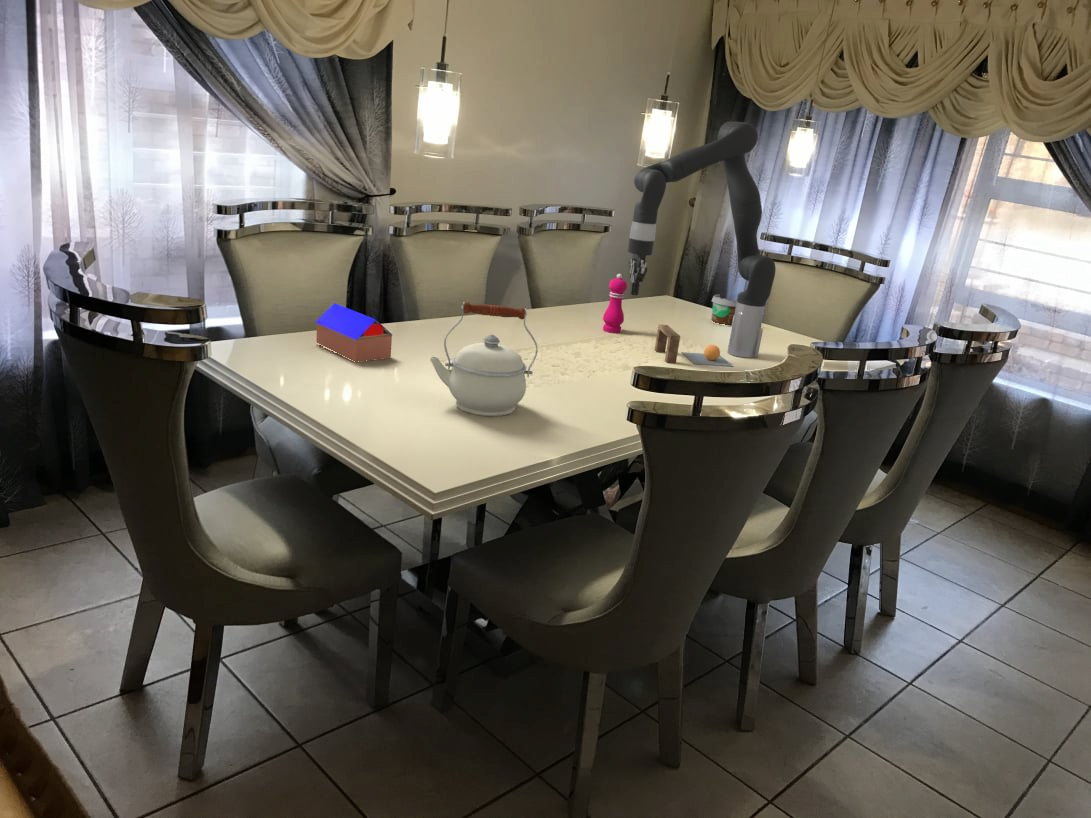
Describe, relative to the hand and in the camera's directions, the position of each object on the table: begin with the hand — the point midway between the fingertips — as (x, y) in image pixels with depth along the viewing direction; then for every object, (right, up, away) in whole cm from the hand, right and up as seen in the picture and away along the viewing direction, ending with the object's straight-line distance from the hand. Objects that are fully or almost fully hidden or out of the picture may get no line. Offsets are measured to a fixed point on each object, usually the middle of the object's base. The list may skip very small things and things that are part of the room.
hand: (633, 294), depth 261 cm
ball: (+26, -17, +10) cm, 33 cm away
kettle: (-43, -35, -57) cm, 79 cm away
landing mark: (+24, -19, +11) cm, 33 cm away
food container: (+39, -2, +67) cm, 78 cm away
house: (-81, -19, -24) cm, 86 cm away
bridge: (+11, -19, +8) cm, 23 cm away
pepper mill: (-4, -8, +34) cm, 36 cm away
